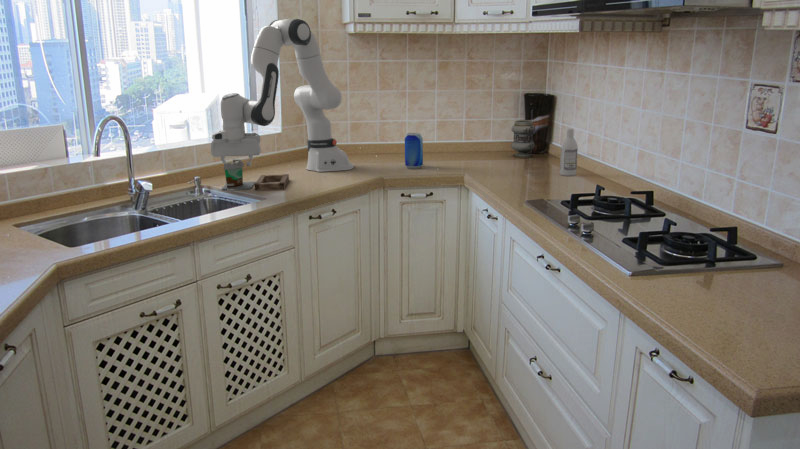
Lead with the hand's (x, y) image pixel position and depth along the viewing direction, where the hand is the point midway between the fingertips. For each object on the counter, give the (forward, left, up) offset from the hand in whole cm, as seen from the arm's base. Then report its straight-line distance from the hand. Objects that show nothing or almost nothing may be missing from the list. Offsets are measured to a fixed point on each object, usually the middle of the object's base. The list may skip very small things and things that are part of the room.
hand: (237, 166), depth 270 cm
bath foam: (-142, -2, -9) cm, 143 cm away
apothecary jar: (-134, -48, -9) cm, 142 cm away
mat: (0, 0, -9) cm, 9 cm away
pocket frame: (-14, -1, -9) cm, 16 cm away
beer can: (-77, -29, -9) cm, 82 cm away
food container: (+1, 0, -8) cm, 8 cm away
